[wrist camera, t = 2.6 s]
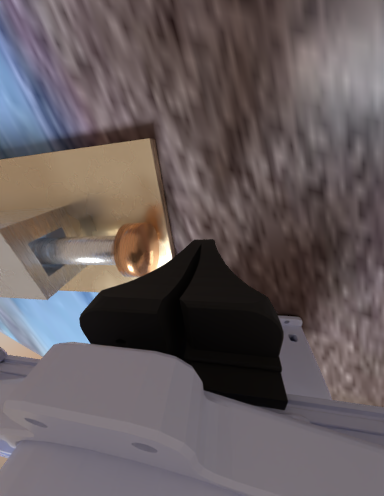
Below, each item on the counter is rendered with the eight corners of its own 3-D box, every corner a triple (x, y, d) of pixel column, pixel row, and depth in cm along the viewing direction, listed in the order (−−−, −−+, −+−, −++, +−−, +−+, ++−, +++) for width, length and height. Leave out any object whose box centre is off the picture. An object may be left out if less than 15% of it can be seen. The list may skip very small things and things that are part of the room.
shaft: (153, 214, 13) (128, 237, 10) (162, 258, 15) (144, 289, 12) (35, 220, 16) (-18, 241, 12) (57, 258, 17) (16, 284, 14)
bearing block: (154, 139, 12) (103, 131, 7) (181, 289, 19) (165, 341, 14) (-32, 165, 16) (-159, 173, 10) (47, 284, 22) (-6, 324, 17)
